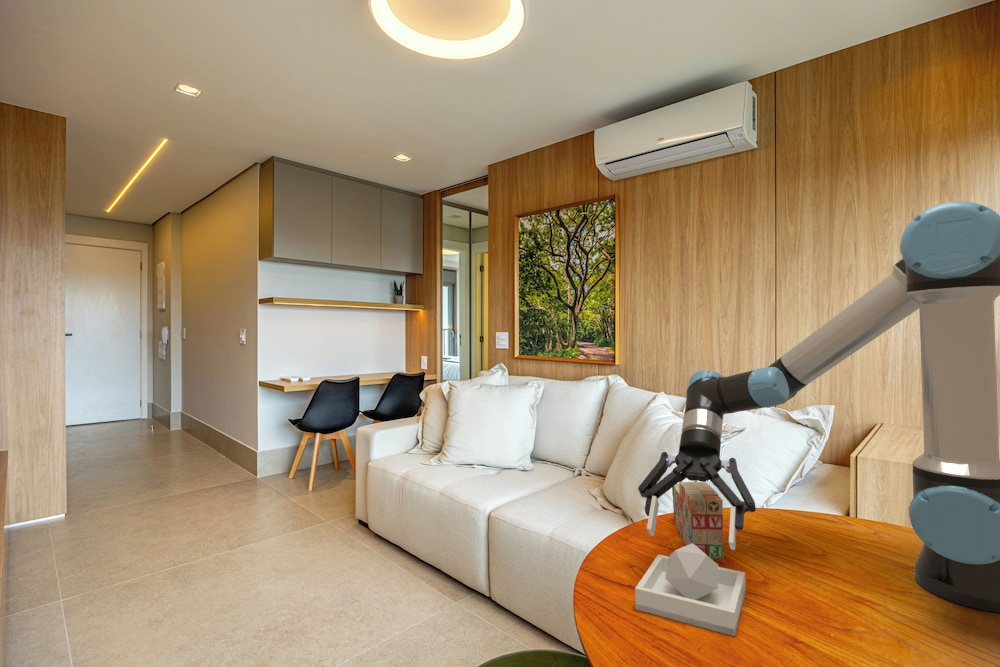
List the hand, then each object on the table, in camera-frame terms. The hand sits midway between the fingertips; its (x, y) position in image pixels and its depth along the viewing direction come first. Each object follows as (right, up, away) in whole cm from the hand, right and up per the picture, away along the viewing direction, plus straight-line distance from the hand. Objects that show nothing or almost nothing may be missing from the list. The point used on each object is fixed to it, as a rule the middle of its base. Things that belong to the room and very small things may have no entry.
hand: (689, 539), depth 88 cm
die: (0, -9, -2) cm, 9 cm away
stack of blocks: (+11, -10, +24) cm, 28 cm away
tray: (0, -9, -2) cm, 10 cm away
